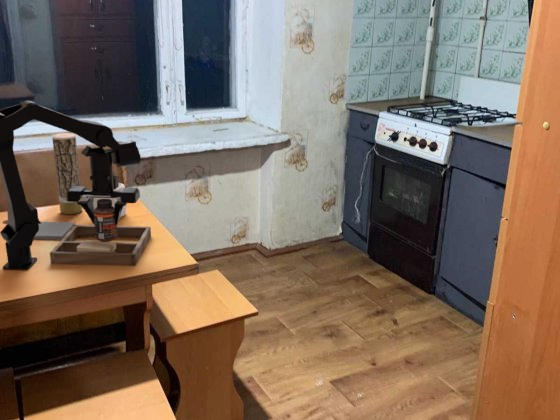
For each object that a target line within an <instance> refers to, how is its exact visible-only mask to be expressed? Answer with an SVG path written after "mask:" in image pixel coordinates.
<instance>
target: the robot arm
mask: <svg viewBox="0 0 560 420" xmlns="http://www.w3.org/2000/svg"><path fill="white" fill-rule="evenodd" d="M33 120H34V121H38V122H41V123H43V124H47V125H49V126H52V127H55V128H57V129H61V130H63V131H66V132H68V133H72V134H75V135H77V136H78V137H80V138H82V139H83V140H85V141H86V142H89V143H91V144H93V145H95V146H97V147H91V146H89V145H86V146H85V147H84V149H82V150H81V152H80V154H81V155H82V156H84V157H87V158H88V157H89V167H90V175H89V180H90V182H91V190H90V189H89V190H88V187H86V186H85V185H84V186H83V185H82V186H81V185H80V186H73V187H72V188H71V189H70V190H69V191H68V192H67V193H66V199H67V201H68V202H77V204H78V205H81V206H82V210H84V211H85V212H86V214H87V216H88V218H89V219H90V222H91V223H92V225H95V222H94V205H93V201H94V198H117V202H116V203H115V223H116V225H117V226H118V224H119V222H120V219H121V218H120V215H121V211H122V208H123V206H125V205H126V206H127V204H136V203H137V202H138V200H139V199H140V197H141V195H140V193H141V192H140V189H139V188H138V187H126V186H125V188H124V189H123V191H114V189H116V188H118V187H119V183H120V177H119V176H118V175H115V172H114V169H113V165H115V166H116V167H117V168H123V167H124V168H125V167H130V166H131V167H132V166H137V165H140V163H141V159H142V157H141V153H140V151H139V148H138V145H137V142H136V141H134V140H131V139H130V140H127V141H121V142H119V141H118V140H117V139H115V137H114V133H113V130H112V129H111V128H110V127H108V126H107V125H105V124H102V123H100V122H98V121H91V120H87V119H80V118H79V119H78V118H74V117H72V116H70V115H66V114H63V113H61V112H58V111H56V110H53V109H51V108H47V107H44V106H42V105H39V104H38V103H36V102H34V101H31V100H25V101H23V102H19V103H18V104H15V105H12V106H8V107H5V108H2V109H0V177H1V180H2V184H3V188H4V191H5V195H6V199H7V204H8V205H7V212H6V213H7V223H6V225H5V226H4V227H3V228H2V230H1V231H0V236H1V237H2V238H3V240H4V241H5V243H4V244H5V251H6V258H7V262H6V263H5V264H4V265H3V266H2V269H3V270H29V269H30V268H31V267H32V266H33V264H35V263H36V261H37V260H38V257H32V250H31V247H32V245H33V242H34V240H35V239H34V236H35V235H36V234H37V232H38V231H39V224H41V222H42V221H40V218H39V213H38V212H39V211H38V209H37V207H36V206H34V205H33V204H32V203H31V202H28V201H27V198H26V194H25V190H24V187H23V183H22V179H21V175H20V171H19V168H18V163H17V160H16V156H15V151H14V142H15V132H14V131H15V130H16V131H17V130H19V129H21V128H22V127H24V126H25V125H26V124H28V123H29V122H31V121H33ZM106 147H108V148H106ZM104 148H105V149H104ZM110 194H111V195H110Z"/></svg>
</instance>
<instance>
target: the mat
mask: <svg viewBox="0 0 560 420" xmlns="http://www.w3.org/2000/svg"><path fill="white" fill-rule="evenodd" d="M40 222H41V224H39V231H38V232H37V234H36V235H35V236H34V239H33V240H60V241H61V240H62V239H63V238H64V236H65V235H66V234H67V233H68V232H69V231H70V230H71V229H72V228H73V226H74V225H76V224H75V223H76V222H74V221H73V222H72V221H71V222H70V221H69V222H68V221H40Z"/></svg>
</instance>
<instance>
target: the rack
mask: <svg viewBox="0 0 560 420" xmlns="http://www.w3.org/2000/svg"><path fill="white" fill-rule="evenodd" d="M151 229H152V228H151V226H139V225H138V226H135V225H134V226H133V225H131V226H130V225H129V226H127V225H117V238H140V239H139V240H138V241H137V242H123V241H122V242H119V241H118V242H117V241H116V242H115V241H110V242H109V243H116V249H115V252H117V253H94V252H77V246H78V245H79V244H81V243H82V242H83V241H75V240H76V239H77V238H78V237H96V236H95V224H92V225H91V224H89V225H87V224H86V225H85V224H75V225H74V226H73V228H72V229H71V230H70V231H69V232H68V233H67V234H66V235H65V236H64V238H63V239H62V240H60V241H59V242H58V243H57V244H55V246H54V248H52V250H51V251H50V252H49V258H50V260H49V261H50V264H51V265H52V264H53V265H56V264H57V265H92V266H93V265H95V266H97V265H98V266H134V267H135V266H137V264H138V262H139V260H140V258H141V256H142V254H143V252H144V251H145V248H146V246H147V245H148V243H149V241H150V239H151V238H152V230H151Z"/></svg>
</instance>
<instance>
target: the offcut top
mask: <svg viewBox="0 0 560 420" xmlns="http://www.w3.org/2000/svg"><path fill="white" fill-rule="evenodd" d="M81 242H82V243H81V244H79V245H78V246H77V252H94V253H112V252H113V251H114V250H115V249H116V243H109V242H100V241H98V240H88V239H87V240H86V239H83V241H81Z"/></svg>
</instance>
